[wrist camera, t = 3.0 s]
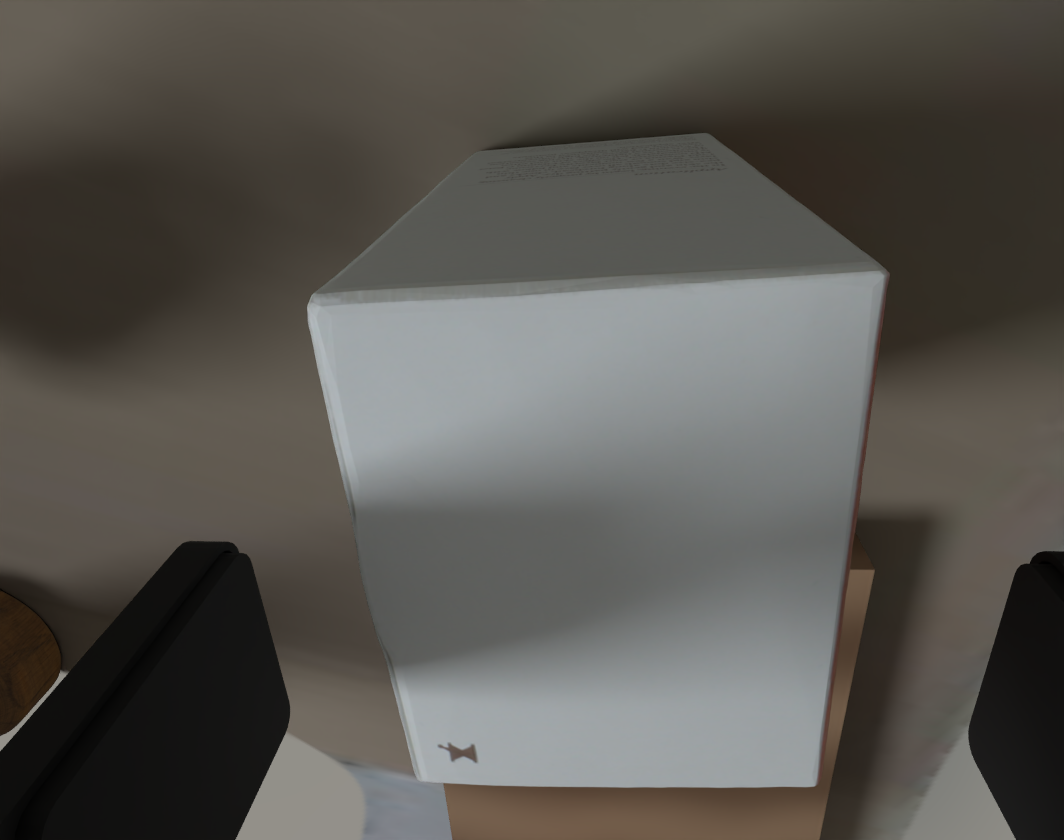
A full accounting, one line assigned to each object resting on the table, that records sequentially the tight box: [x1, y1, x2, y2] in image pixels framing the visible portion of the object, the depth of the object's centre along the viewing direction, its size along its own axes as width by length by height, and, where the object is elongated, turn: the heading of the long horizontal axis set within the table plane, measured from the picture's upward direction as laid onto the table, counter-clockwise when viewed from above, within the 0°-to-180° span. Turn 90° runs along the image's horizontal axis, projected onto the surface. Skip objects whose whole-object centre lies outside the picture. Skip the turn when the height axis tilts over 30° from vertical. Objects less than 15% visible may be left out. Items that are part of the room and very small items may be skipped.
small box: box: [307, 133, 890, 788], centre depth 15 cm, size 8×6×13 cm
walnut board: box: [444, 533, 875, 840], centre depth 27 cm, size 18×14×2 cm
